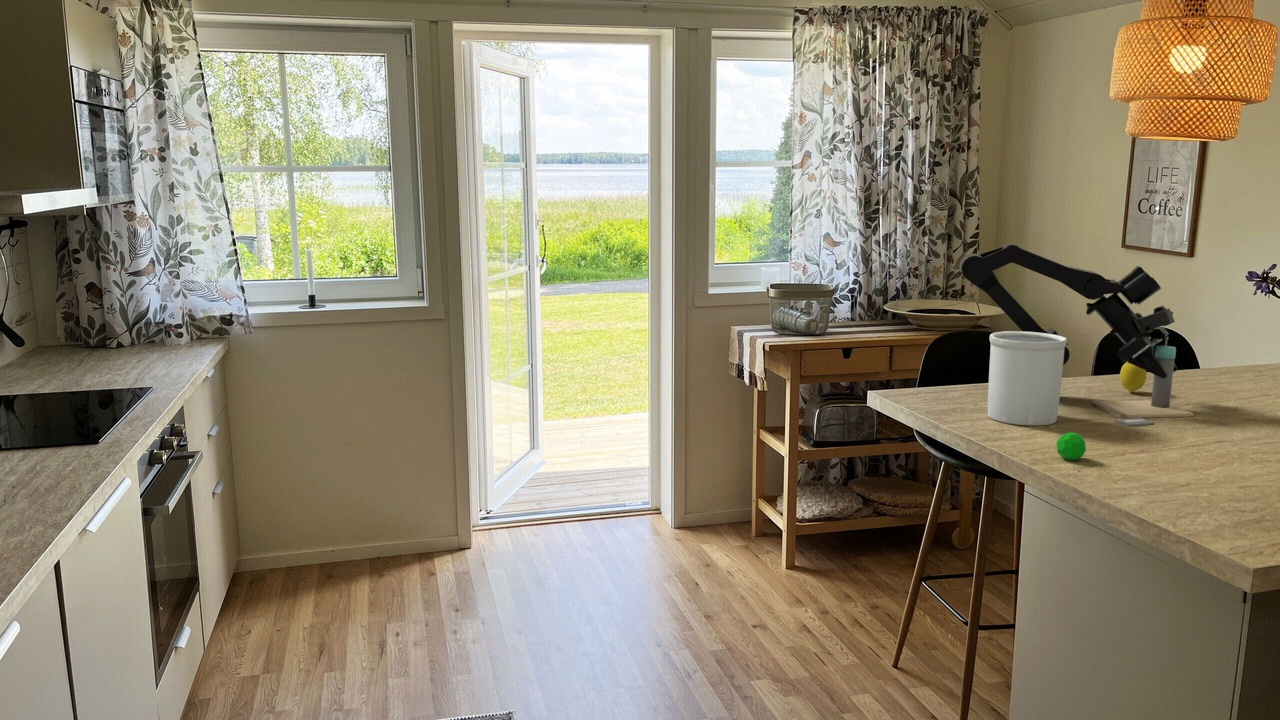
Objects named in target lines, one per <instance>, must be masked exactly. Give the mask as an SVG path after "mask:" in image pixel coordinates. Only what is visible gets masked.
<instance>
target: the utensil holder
mask: <svg viewBox="0 0 1280 720" xmlns="http://www.w3.org/2000/svg"><path fill="white" fill-rule="evenodd" d="M1058 335H1059V334H1058ZM1058 335H1053V334H1046V333H1037V332H1023V331H1022V330H1021V331H1019V330H1018V331H1017V330H1016V331H1015V330H1007V331H996V332H992V333H991V334H990V335H989V342H990V349H989V350H990V351H989V352H990V353H989V354H990V355H989V356H990V357H989V370H988V371H989V372H988V390H987V393H988V394H987V416H988V417H989V418H990V419H992V420H995V421H998V422H1000V423H1004V424H1005V423H1006V424H1010V425H1018V426H1028V427H1029V426H1032V427H1033V426H1047V425H1052V424H1054V423H1056V422H1057V420H1058V413H1059V407H1060V406H1059V405H1060V400H1059V399H1060V398H1061V388H1062V380H1063V379H1062V378H1063V368H1064V365H1063V360H1064V348H1065V346H1066V347H1067V345H1066V343H1068V342H1067V339H1068V338H1066V337H1064V336H1062V335H1059V336H1058Z"/></svg>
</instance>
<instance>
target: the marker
mask: <svg viewBox="0 0 1280 720" xmlns="http://www.w3.org/2000/svg"><path fill="white" fill-rule="evenodd" d="M1176 353H1177V347H1175V346H1171V345H1167V346H1156V353H1155V356H1156V358H1157V359H1158V361H1159V362H1160V364H1161V365H1162V367H1163V368H1164V370H1165V371H1166V373H1167V374H1168V376H1167V377H1166V378H1164V379H1163V378H1161V377H1159V376H1157V375H1155V374H1153V381H1152V390H1151V391H1152V393H1151V399H1150V400H1151V406H1153V407H1158V408H1169V407H1170V404H1171V395H1172V388H1173V376H1174V372H1173V368H1174V363H1175V359H1176Z"/></svg>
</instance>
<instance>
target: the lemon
mask: <svg viewBox="0 0 1280 720" xmlns="http://www.w3.org/2000/svg"><path fill="white" fill-rule="evenodd" d="M1129 361H1130V360H1127V361H1125V362H1124V364H1123V365H1122V366H1121V369H1120V372H1119V381H1120V384H1121V386H1123V388H1125V389H1126V390H1128V393H1132V394H1133V393H1134V392H1135V391H1137V390H1140V389H1142V388H1143V387H1144V386H1145V383H1146V382H1147V381H1146V380H1147V377H1148V376H1147V371H1146V370H1144V369H1142V368H1139V367H1137V366H1135V365H1133V364H1129V363H1128V362H1129Z"/></svg>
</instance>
